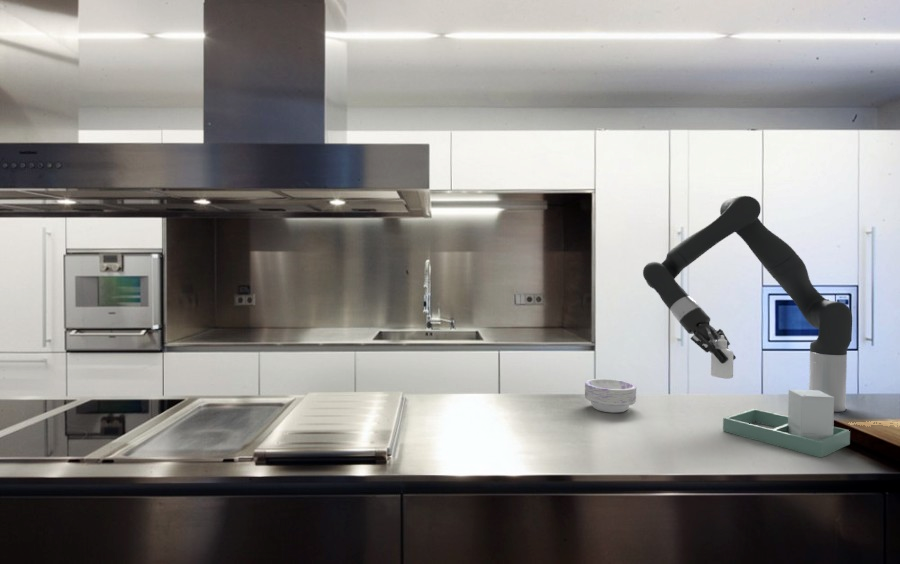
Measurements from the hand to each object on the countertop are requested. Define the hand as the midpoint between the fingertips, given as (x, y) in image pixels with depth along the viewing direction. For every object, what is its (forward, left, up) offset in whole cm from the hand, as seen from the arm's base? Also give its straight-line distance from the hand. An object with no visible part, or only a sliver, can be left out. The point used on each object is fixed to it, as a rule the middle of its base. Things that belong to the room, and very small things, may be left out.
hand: (729, 360), depth 148 cm
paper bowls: (+18, -27, -18) cm, 37 cm away
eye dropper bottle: (0, -2, -5) cm, 6 cm away
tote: (+2, +16, -17) cm, 23 cm away
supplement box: (+2, +22, -17) cm, 28 cm away
